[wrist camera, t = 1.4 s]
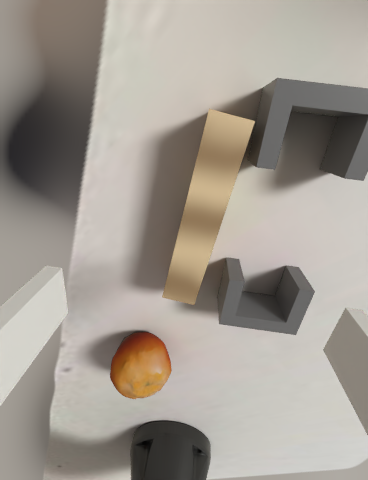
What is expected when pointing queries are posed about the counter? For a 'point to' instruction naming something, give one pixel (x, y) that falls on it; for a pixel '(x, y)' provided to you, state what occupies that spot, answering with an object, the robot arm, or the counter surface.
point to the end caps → (266, 156)
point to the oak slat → (206, 202)
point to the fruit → (140, 366)
